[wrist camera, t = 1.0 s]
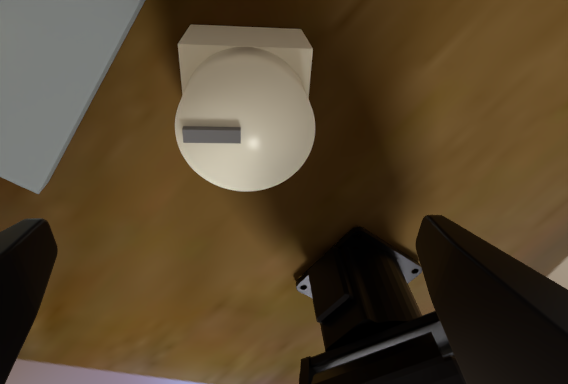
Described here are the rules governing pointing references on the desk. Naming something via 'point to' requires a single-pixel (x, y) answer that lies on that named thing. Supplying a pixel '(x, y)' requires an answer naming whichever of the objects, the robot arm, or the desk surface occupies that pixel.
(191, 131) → the knob
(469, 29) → the desk surface
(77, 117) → the panel
